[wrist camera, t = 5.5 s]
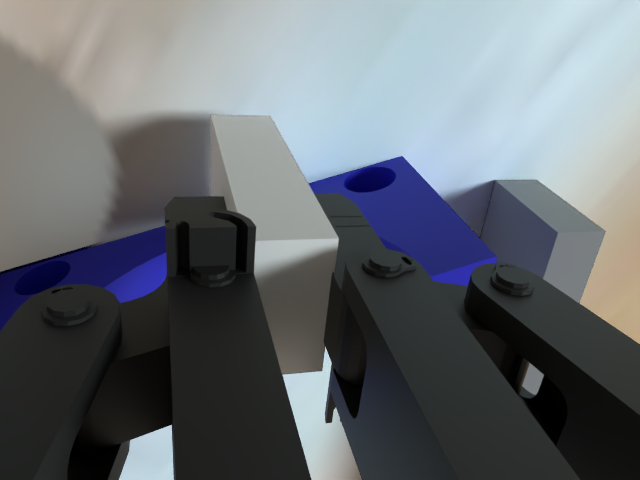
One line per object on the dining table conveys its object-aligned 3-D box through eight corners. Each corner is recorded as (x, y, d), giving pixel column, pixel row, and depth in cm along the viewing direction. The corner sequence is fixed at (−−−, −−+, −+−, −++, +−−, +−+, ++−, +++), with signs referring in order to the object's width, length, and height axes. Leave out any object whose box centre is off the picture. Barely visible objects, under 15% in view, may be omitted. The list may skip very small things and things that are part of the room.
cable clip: (68, 382, 19) (35, 557, 14) (0, 271, 17) (-69, 435, 12) (416, 272, 20) (503, 397, 15) (400, 153, 18) (496, 255, 13)
